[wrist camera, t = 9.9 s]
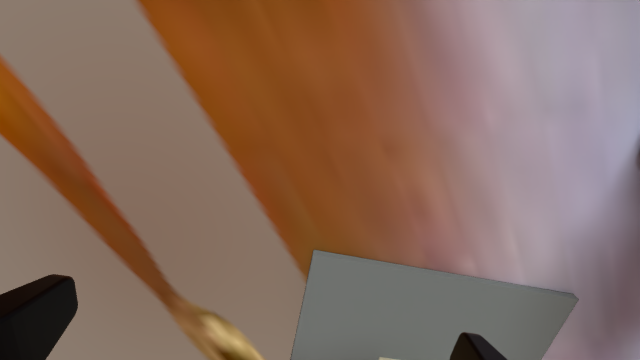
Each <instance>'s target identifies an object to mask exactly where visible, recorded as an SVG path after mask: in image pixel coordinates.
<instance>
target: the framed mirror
mask: <svg viewBox="0 0 640 360" xmlns="http://www.w3.org/2000/svg"><path fill="white" fill-rule="evenodd" d="M379 360H397V359H390V358H383V357H379Z"/></svg>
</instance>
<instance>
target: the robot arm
mask: <svg viewBox="0 0 640 360" xmlns="http://www.w3.org/2000/svg"><path fill="white" fill-rule="evenodd" d="M77 308H78V301H77V295H76V289H75V282H74V280H73V278H72V277H70V276H64V275H56V274H53V275H48V276H46V277H43V278H41V279H38V280H36V281H33V282H31V283H28V284H26V285H23V286H21V287H18V288H16V289H13V290H11V291H8V292H6V293H3V294H1V295H0V360H46V358H47V357H48V355H49V354H50V352H51V351H52V349H53V348H54V346H55V345H56V343H57V342H58V340H59V338H60V337H61V336H62V334H63V333H64V331H65V329H66V328H67V326H68V325H69V323H70V322H71V320H72V319H73V317H74V316H75V314H76V311H77ZM450 360H508V359H506V358H505V357H504V356H503V355H502V354H501V353H500V352H499V351H498V350H497V349H496V348H494V347H493V346H492V345H491V344H490V343H489V342H488V341H487V340H486V339H485V338H484V337H482V336H481V335H479V334H475V333H468V332H462V333H461V334H460V335H459V337H458V339H457V341H456V344H455V346H454V348H453V351H452V353H451V355H450Z"/></svg>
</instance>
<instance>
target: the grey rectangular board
mask: <svg viewBox="0 0 640 360" xmlns="http://www.w3.org/2000/svg"><path fill="white" fill-rule="evenodd" d="M578 300H579V299H578V298H577V297H576V296H575V295H574V294H570V293H564V292H558V291H552V290H546V289H540V288H534V287H529V286H523V285H517V284H511V283H505V282H499V281H493V280H488V279H482V278H476V277H470V276H464V275H458V274H453V273H447V272H441V271H435V270H429V269H423V268H417V267H412V266H406V265H400V264H394V263H388V262H382V261H376V260H371V259H365V258H359V257H353V256H347V255H341V254H335V253H330V252H324V251H318V250H313V255H312V260H311V264H310V269H309V274H308V279H307V283H306V288H305V293H304V297H303V302H302V307H301V312H300V316H299V321H298V326H297V331H296V336H295V340H294V345H293V349H292V354H291V359H290V360H379V357H383V358H390V359H397V360H450V355H451V353H452V351H453V348H454V346H455V344H456V341H457V339H458V337H459V335H460V334H461V333H462V332H468V333H475V334H479V335H481V336H482V337H484V338H485V339H486V340H487V341H488V342H489V343H490V344H491V345H492V346H493V347H494V348H496V349H497V350H498V351H499V352H500V353H501V354H502V355H503V356H504V357H505V358H506V359H508V360H541V359H542V357H543V356H544V354H545V353H546V351H547V349H548V348H549V346H550V345H551V343H552V341H553V340H554V338H555V337H556V335H557V333H558V332H559V330H560V329H561V327H562V325H563V324H564V322H565V321H566V319H567V317H568V316H569V314H570V313H571V311H572V309H573V308H574V306H575V305H576V303H577V302H578Z"/></svg>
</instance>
